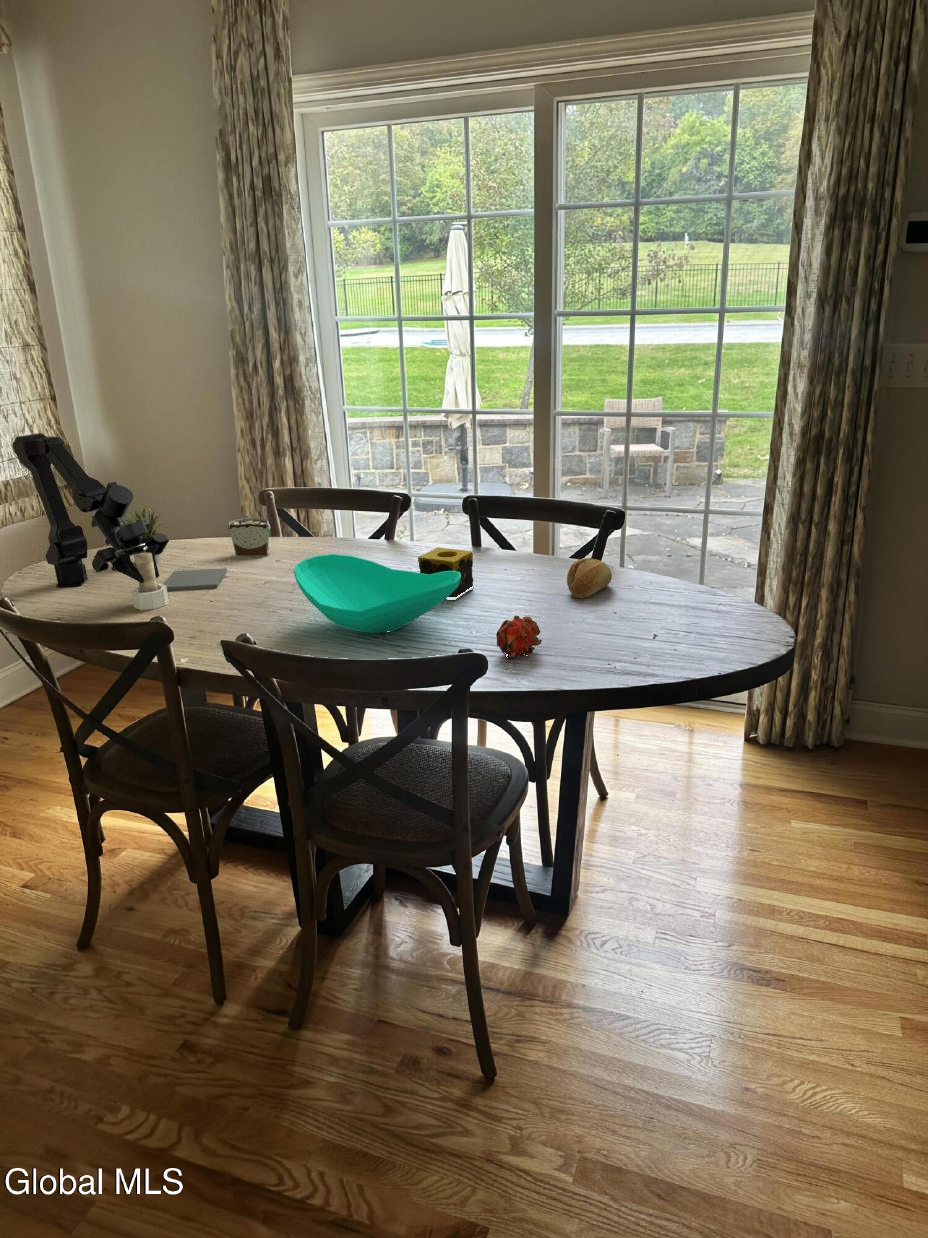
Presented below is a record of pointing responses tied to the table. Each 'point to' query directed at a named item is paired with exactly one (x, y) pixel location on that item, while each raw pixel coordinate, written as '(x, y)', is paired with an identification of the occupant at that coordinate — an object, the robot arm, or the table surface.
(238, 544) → the food container
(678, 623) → the table surface
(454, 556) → the candle
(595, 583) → the bread roll
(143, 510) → the house plant
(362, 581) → the table top decor
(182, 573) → the rubber mat
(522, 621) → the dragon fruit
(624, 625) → the table surface
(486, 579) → the table surface
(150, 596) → the holder cup
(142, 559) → the birch peg
